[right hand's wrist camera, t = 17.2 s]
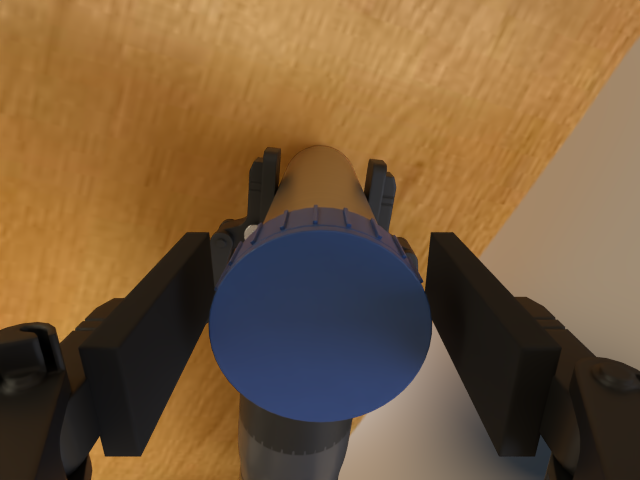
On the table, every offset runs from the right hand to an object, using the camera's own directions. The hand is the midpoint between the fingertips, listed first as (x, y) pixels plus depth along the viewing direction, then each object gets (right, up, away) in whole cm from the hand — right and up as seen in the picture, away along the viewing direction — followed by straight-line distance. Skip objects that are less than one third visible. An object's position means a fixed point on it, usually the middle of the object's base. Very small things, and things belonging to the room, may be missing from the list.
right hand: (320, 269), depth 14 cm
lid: (0, -1, -4) cm, 4 cm away
